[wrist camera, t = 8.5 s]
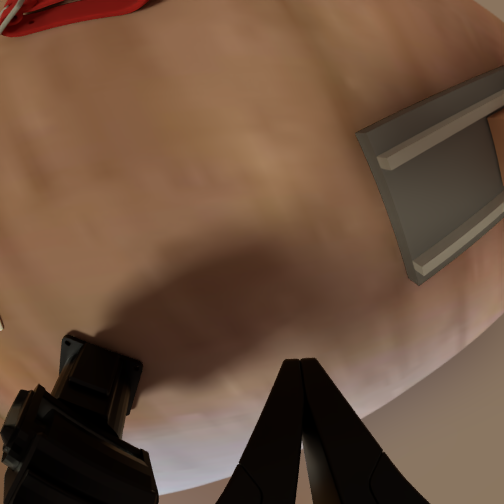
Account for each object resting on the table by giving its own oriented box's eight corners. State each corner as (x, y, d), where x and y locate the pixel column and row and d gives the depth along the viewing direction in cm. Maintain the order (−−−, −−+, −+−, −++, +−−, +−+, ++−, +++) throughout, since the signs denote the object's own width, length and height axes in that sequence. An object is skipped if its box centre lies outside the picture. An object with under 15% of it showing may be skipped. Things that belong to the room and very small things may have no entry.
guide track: (408, 278, 23) (459, 317, 17) (354, 133, 18) (416, 133, 12) (533, 176, 22) (578, 189, 16) (505, 64, 18) (556, 62, 11)
